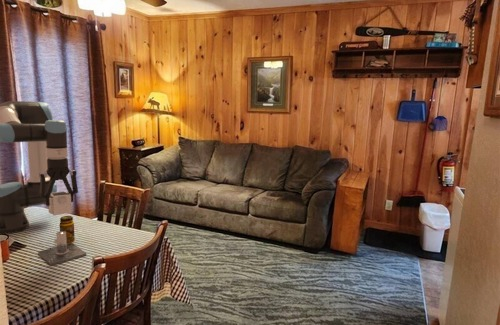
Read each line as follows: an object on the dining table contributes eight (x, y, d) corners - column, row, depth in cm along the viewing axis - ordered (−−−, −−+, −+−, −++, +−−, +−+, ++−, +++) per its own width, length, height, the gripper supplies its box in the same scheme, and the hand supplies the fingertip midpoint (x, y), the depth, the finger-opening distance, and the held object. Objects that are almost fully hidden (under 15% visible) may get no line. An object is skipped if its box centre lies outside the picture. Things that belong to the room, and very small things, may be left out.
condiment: (76, 242, 157) (75, 218, 155) (55, 246, 153) (54, 221, 151) (74, 237, 163) (73, 213, 161) (54, 240, 158) (53, 216, 156)
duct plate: (38, 253, 144) (36, 232, 142) (72, 244, 154) (71, 224, 153) (50, 265, 134) (49, 242, 133) (86, 255, 145) (85, 233, 143)
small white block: (49, 211, 141) (48, 193, 140) (66, 208, 146) (65, 191, 144) (55, 216, 135) (54, 197, 134) (72, 213, 140) (71, 195, 139)
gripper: (32, 161, 128) (35, 218, 131) (85, 157, 141) (87, 209, 145) (27, 158, 133) (31, 213, 137) (79, 154, 147) (81, 205, 150)
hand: (60, 211), depth 141 cm, fingers closed on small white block, 7 cm apart
